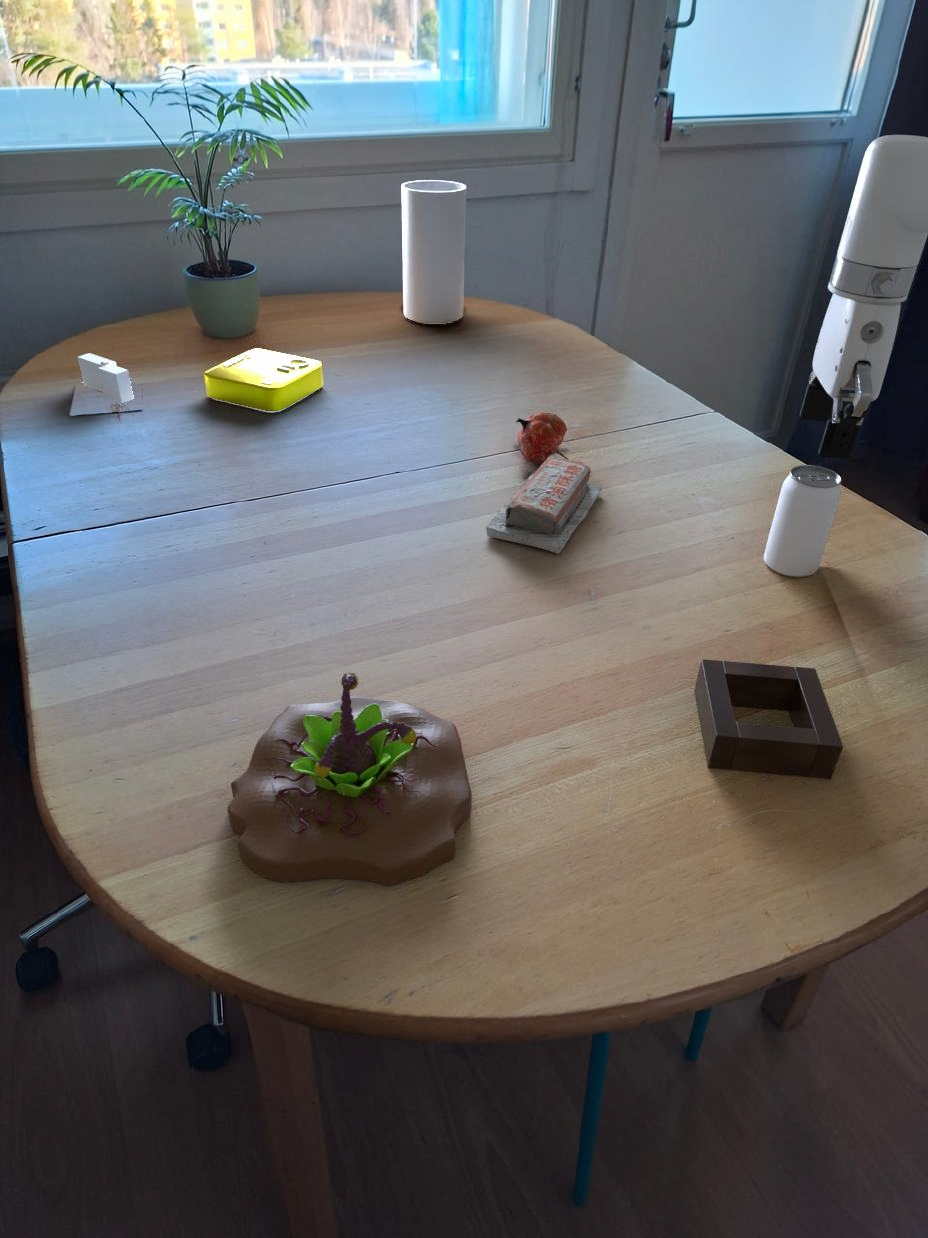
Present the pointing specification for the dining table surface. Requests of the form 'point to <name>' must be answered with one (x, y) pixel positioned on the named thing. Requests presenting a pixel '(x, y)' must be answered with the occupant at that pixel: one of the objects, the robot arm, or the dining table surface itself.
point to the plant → (351, 792)
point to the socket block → (766, 746)
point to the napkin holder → (106, 377)
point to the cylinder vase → (433, 250)
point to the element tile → (264, 379)
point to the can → (802, 521)
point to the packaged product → (547, 506)
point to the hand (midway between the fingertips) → (822, 437)
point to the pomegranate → (540, 436)
